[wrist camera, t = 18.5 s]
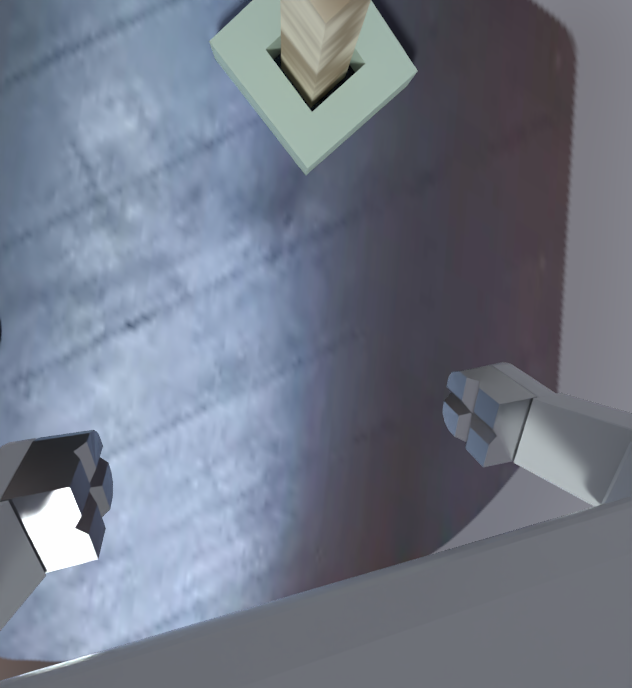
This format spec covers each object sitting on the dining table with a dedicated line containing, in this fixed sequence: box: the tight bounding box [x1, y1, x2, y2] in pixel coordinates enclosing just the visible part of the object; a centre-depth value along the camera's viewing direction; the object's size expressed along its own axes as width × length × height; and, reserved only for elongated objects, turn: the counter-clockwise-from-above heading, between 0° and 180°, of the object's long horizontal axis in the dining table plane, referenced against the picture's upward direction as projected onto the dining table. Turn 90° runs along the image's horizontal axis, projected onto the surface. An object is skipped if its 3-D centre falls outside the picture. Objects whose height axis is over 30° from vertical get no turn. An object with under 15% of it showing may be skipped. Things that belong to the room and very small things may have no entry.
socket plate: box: [209, 0, 417, 175], centre depth 36 cm, size 14×14×3 cm
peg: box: [280, 0, 371, 108], centre depth 31 cm, size 4×4×14 cm
